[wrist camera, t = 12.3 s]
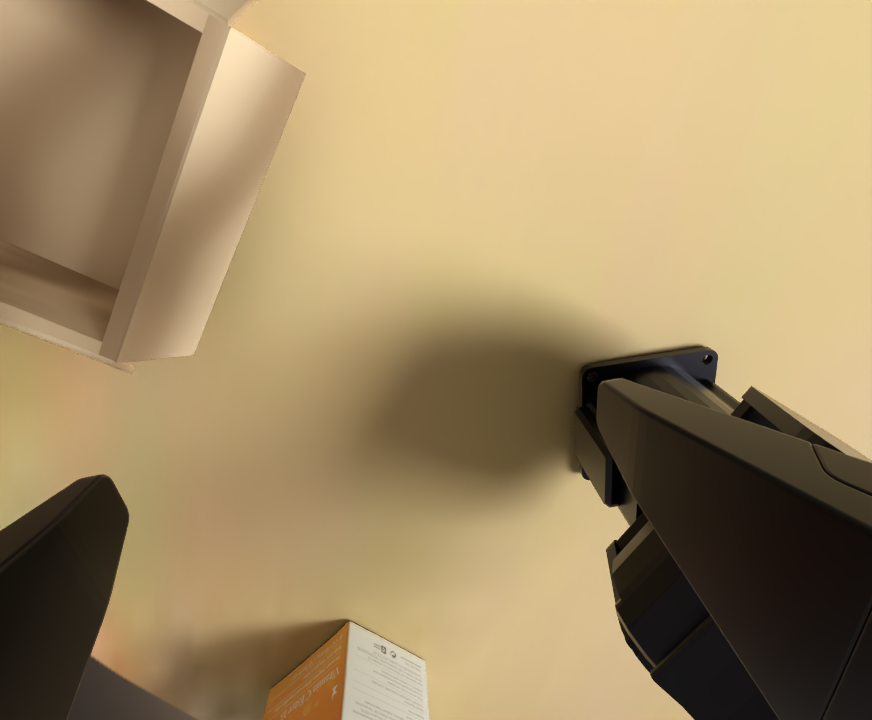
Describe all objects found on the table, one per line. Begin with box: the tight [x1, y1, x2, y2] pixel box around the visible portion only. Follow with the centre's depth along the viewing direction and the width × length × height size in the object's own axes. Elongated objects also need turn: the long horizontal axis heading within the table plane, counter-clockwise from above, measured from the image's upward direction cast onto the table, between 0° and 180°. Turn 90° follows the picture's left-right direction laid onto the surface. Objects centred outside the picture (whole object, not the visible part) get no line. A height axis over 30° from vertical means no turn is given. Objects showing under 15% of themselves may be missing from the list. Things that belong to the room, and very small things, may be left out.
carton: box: [0, 0, 306, 374], centre depth 16 cm, size 15×15×5 cm
